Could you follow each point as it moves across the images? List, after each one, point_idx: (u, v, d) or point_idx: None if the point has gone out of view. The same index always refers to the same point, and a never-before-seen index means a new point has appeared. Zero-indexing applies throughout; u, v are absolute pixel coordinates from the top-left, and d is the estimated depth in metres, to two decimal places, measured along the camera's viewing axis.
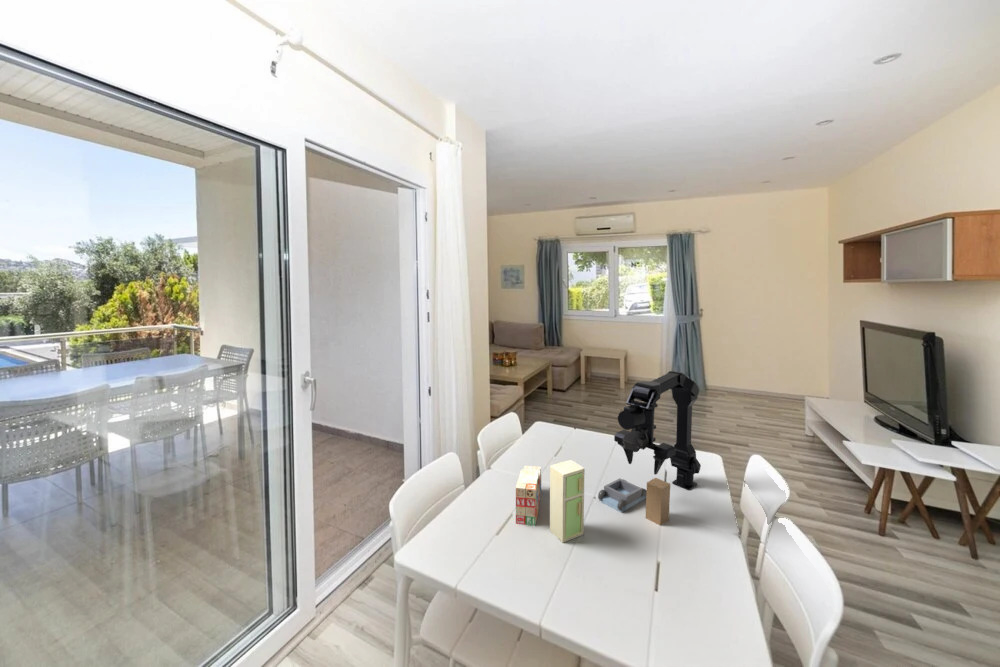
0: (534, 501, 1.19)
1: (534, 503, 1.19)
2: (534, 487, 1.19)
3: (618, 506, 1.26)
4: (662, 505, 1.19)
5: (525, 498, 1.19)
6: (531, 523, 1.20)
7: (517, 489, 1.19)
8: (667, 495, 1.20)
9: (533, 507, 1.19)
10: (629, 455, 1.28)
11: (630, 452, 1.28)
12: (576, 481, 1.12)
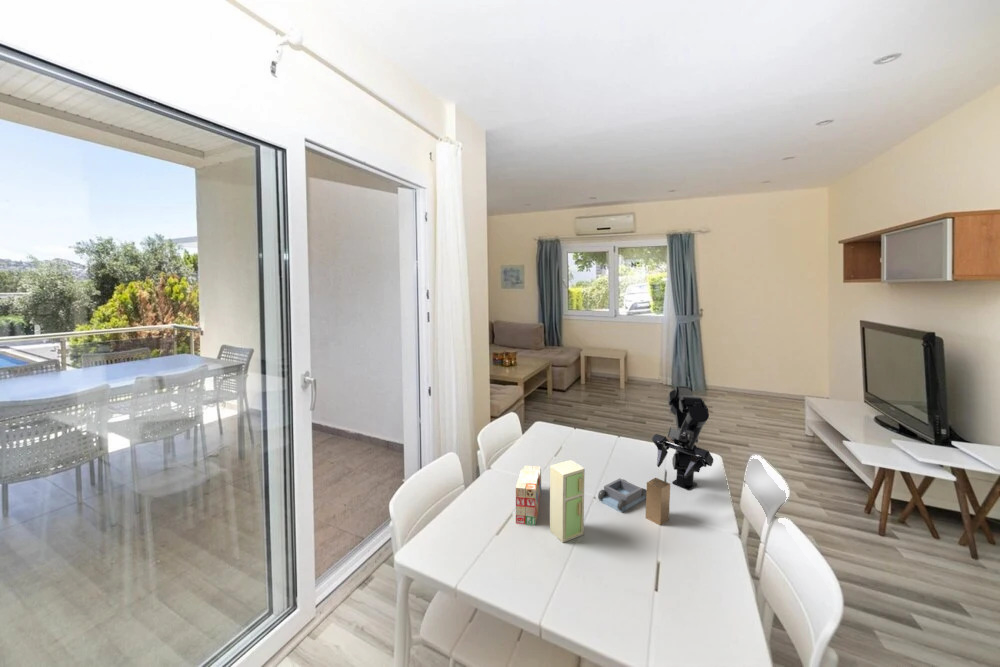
0: (534, 501, 1.19)
1: (534, 503, 1.19)
2: (534, 487, 1.20)
3: (618, 506, 1.26)
4: (662, 505, 1.19)
5: (525, 498, 1.19)
6: (531, 523, 1.20)
7: (517, 489, 1.19)
8: (667, 495, 1.20)
9: (533, 507, 1.19)
10: (661, 457, 1.30)
11: (662, 456, 1.31)
12: (576, 481, 1.12)
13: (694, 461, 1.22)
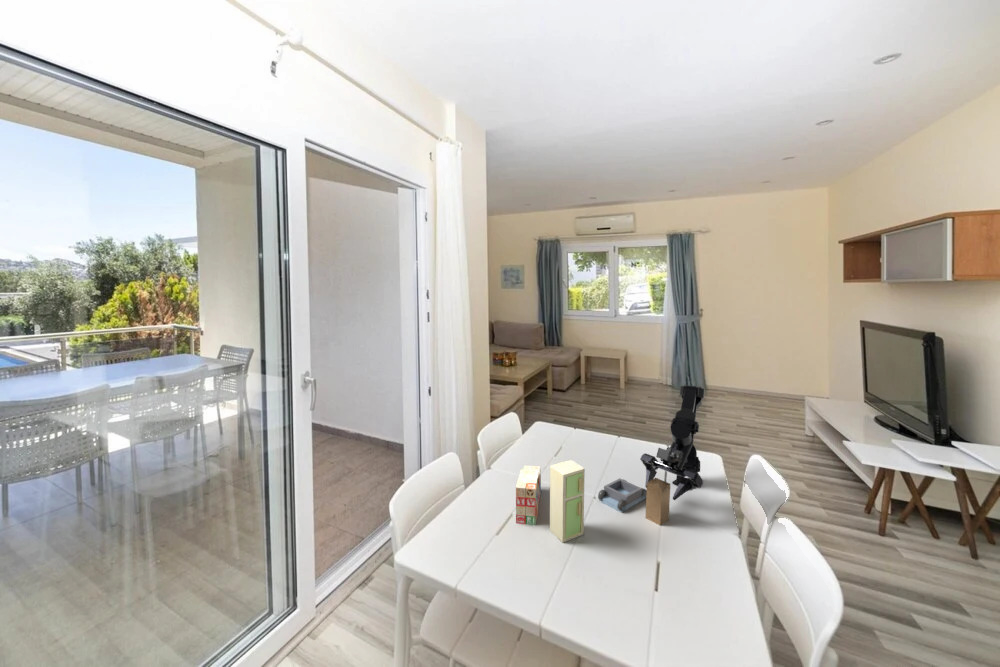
0: (534, 501, 1.19)
1: (534, 503, 1.19)
2: (535, 487, 1.20)
3: (618, 506, 1.26)
4: (662, 505, 1.19)
5: (525, 498, 1.19)
6: (531, 522, 1.20)
7: (517, 489, 1.20)
8: (667, 495, 1.20)
9: (533, 507, 1.19)
10: (649, 478, 1.26)
11: (651, 477, 1.27)
12: (576, 481, 1.12)
13: (683, 483, 1.18)
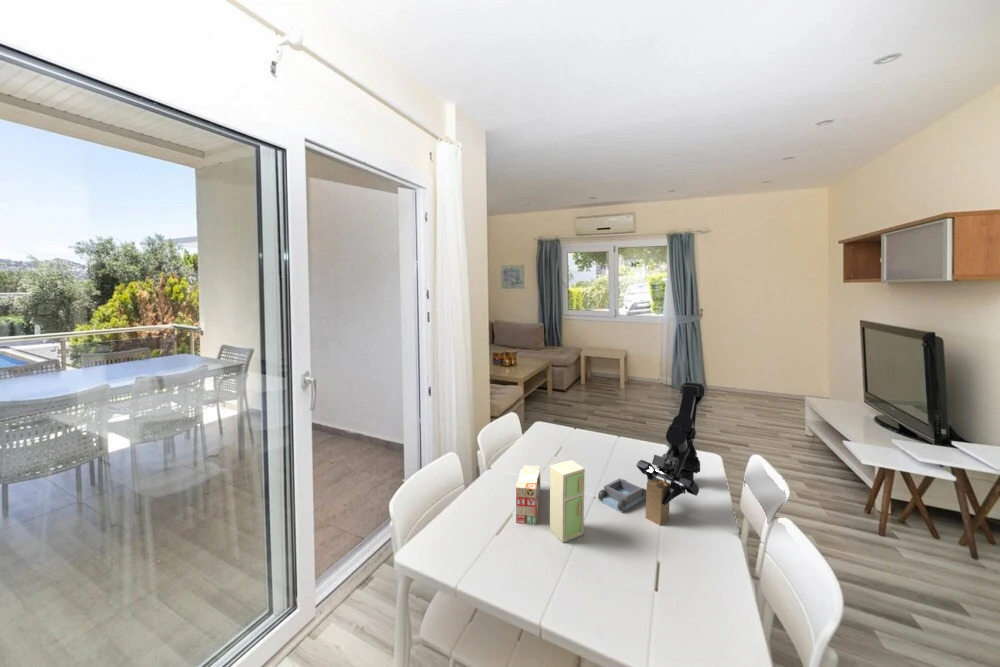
0: (534, 500, 1.19)
1: (534, 502, 1.19)
2: (535, 486, 1.20)
3: (618, 506, 1.26)
4: (662, 505, 1.19)
5: (525, 497, 1.20)
6: (531, 522, 1.20)
7: (517, 488, 1.20)
8: None
9: (533, 506, 1.19)
10: None
11: None
12: (576, 481, 1.12)
13: (673, 488, 1.19)
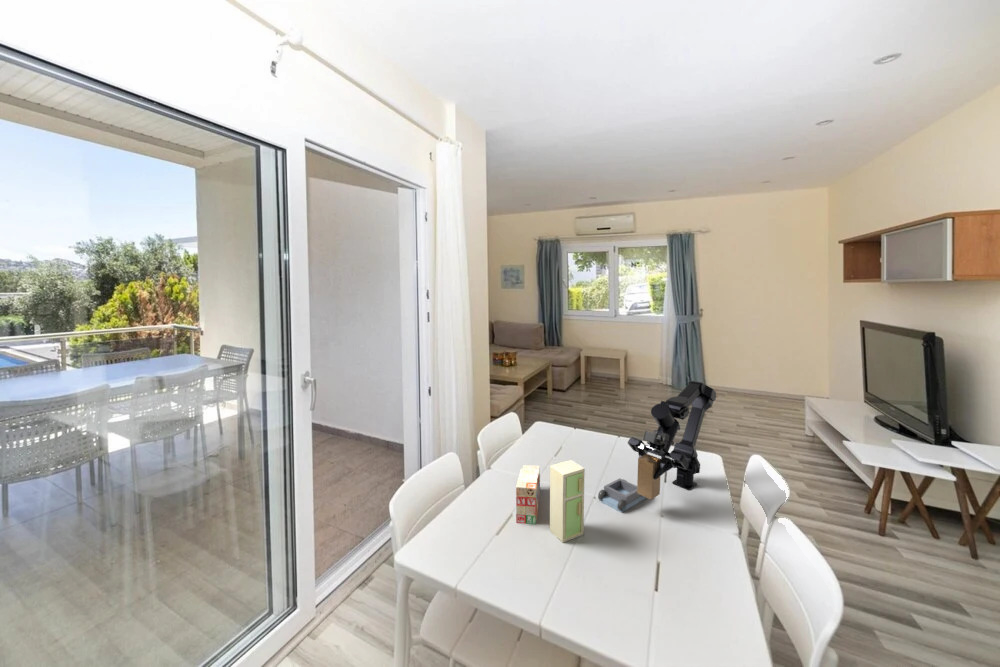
0: (534, 500, 1.19)
1: (534, 502, 1.19)
2: (535, 486, 1.20)
3: (618, 506, 1.26)
4: (653, 480, 1.21)
5: (526, 497, 1.20)
6: (531, 522, 1.20)
7: (518, 488, 1.20)
8: None
9: (533, 506, 1.20)
10: None
11: None
12: (576, 481, 1.12)
13: (663, 462, 1.21)
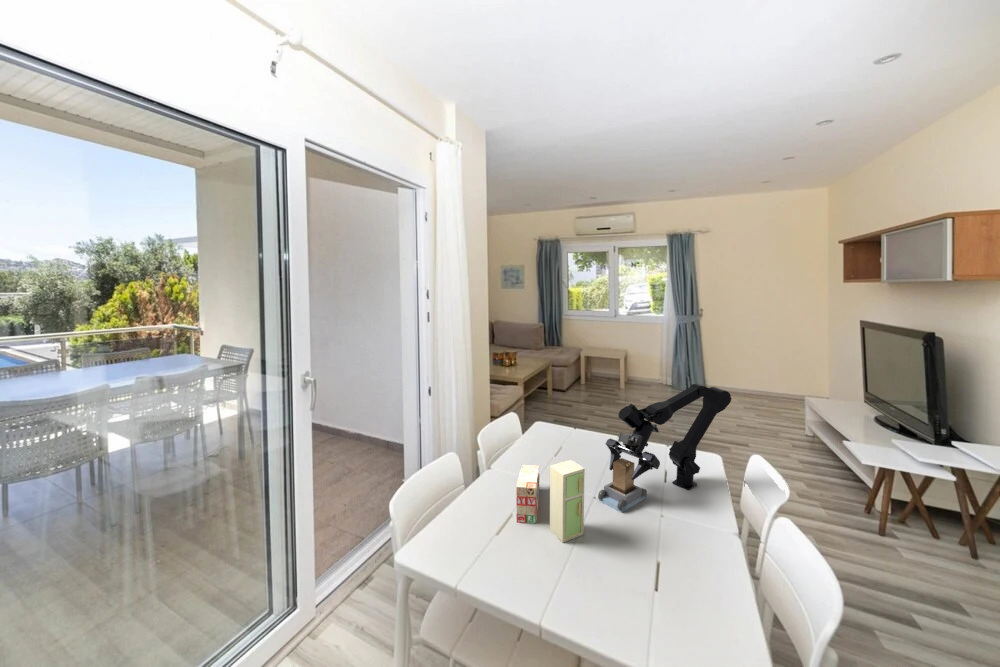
0: (535, 500, 1.20)
1: (535, 502, 1.20)
2: (535, 486, 1.20)
3: (618, 506, 1.26)
4: (626, 482, 1.30)
5: (526, 497, 1.20)
6: (532, 521, 1.21)
7: (518, 488, 1.20)
8: (631, 473, 1.31)
9: (534, 506, 1.20)
10: (613, 461, 1.36)
11: (615, 460, 1.37)
12: (576, 481, 1.12)
13: (641, 464, 1.28)
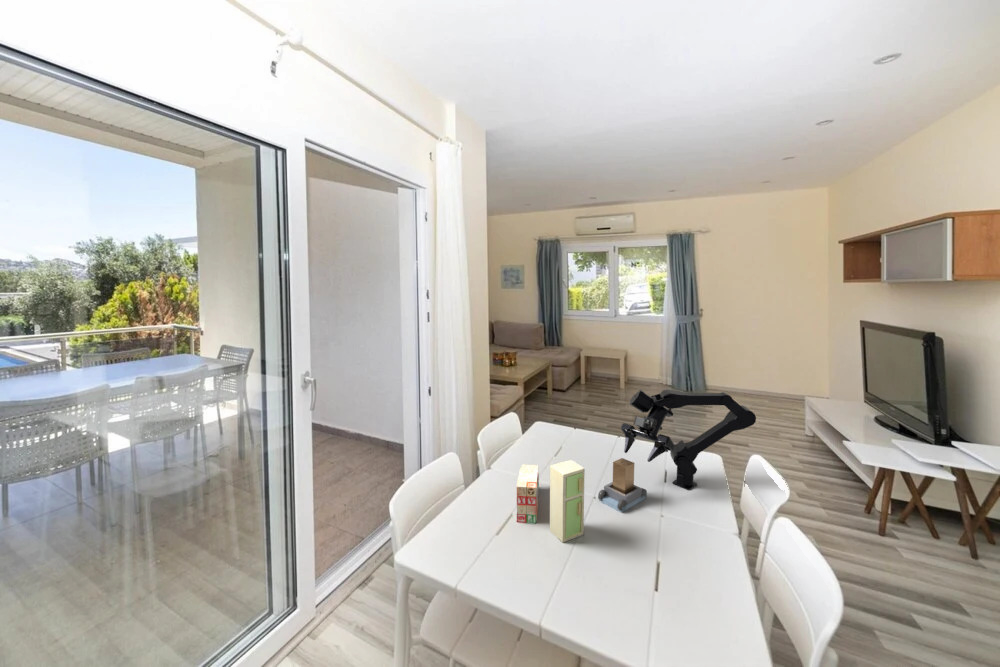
0: (535, 499, 1.20)
1: (535, 501, 1.20)
2: (535, 485, 1.21)
3: (618, 506, 1.26)
4: (626, 482, 1.30)
5: (526, 496, 1.20)
6: (532, 521, 1.21)
7: (518, 488, 1.20)
8: (631, 473, 1.31)
9: (534, 505, 1.20)
10: (628, 444, 1.41)
11: (629, 443, 1.42)
12: (576, 481, 1.12)
13: (656, 446, 1.33)
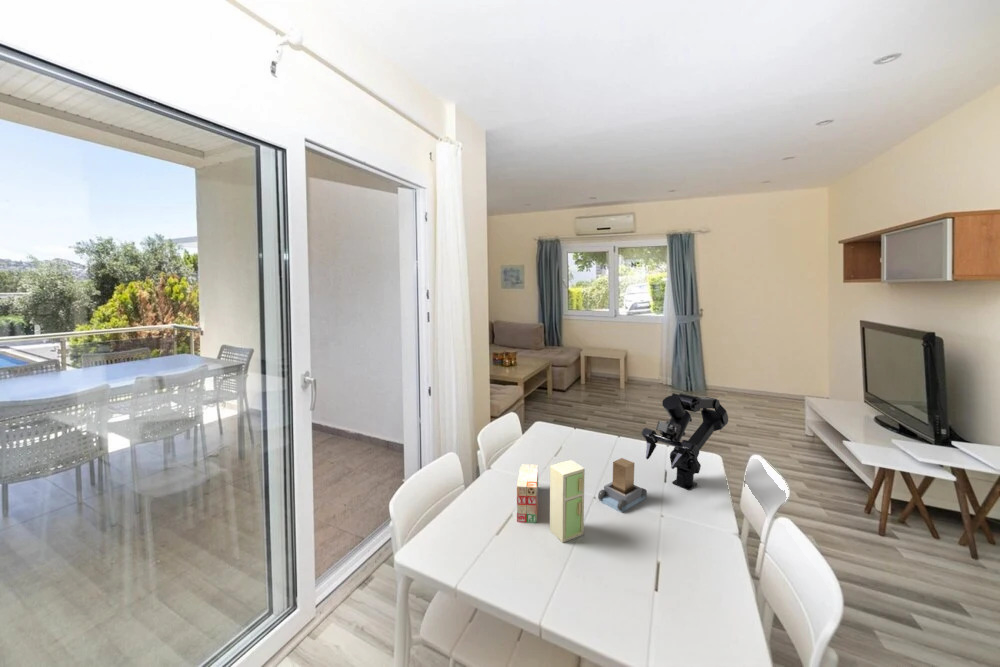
0: (535, 499, 1.20)
1: (535, 501, 1.20)
2: (535, 485, 1.21)
3: (618, 506, 1.26)
4: (626, 482, 1.30)
5: (526, 496, 1.20)
6: (532, 521, 1.21)
7: (518, 487, 1.20)
8: (631, 473, 1.31)
9: (534, 505, 1.20)
10: (649, 450, 1.36)
11: (651, 449, 1.36)
12: (576, 481, 1.12)
13: (681, 453, 1.27)
